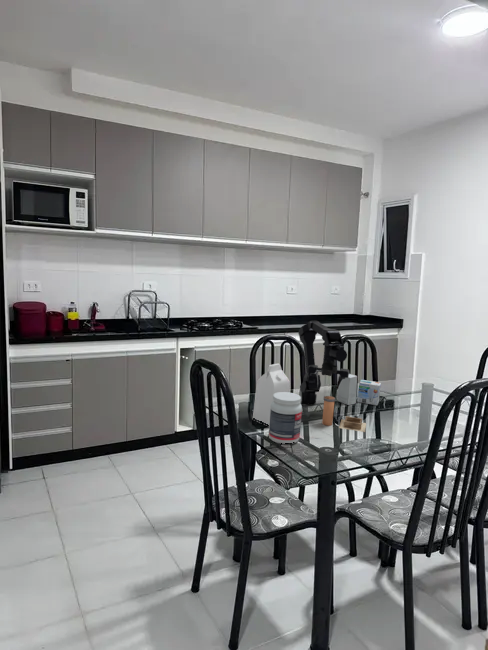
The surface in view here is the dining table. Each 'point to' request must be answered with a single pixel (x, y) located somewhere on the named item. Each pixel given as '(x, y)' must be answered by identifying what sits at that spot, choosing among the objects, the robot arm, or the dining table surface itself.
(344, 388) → the skincare box
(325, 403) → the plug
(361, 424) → the square wooden holder
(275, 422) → the supplement tub
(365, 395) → the light bulb box
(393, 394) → the dining table surface
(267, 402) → the milk
